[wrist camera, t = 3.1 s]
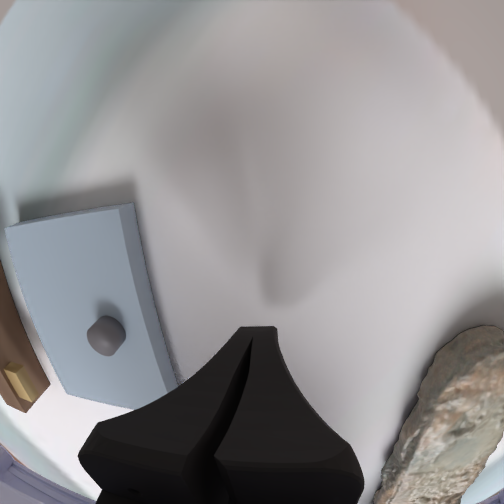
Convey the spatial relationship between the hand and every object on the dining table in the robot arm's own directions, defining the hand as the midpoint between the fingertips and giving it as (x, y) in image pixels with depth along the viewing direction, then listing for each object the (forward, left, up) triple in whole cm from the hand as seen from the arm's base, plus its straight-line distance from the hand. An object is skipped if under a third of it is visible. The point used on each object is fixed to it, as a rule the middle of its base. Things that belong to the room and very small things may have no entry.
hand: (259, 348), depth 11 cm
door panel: (+9, 0, -3) cm, 9 cm away
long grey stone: (-12, +19, -3) cm, 23 cm away
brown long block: (+18, 0, -2) cm, 18 cm away
